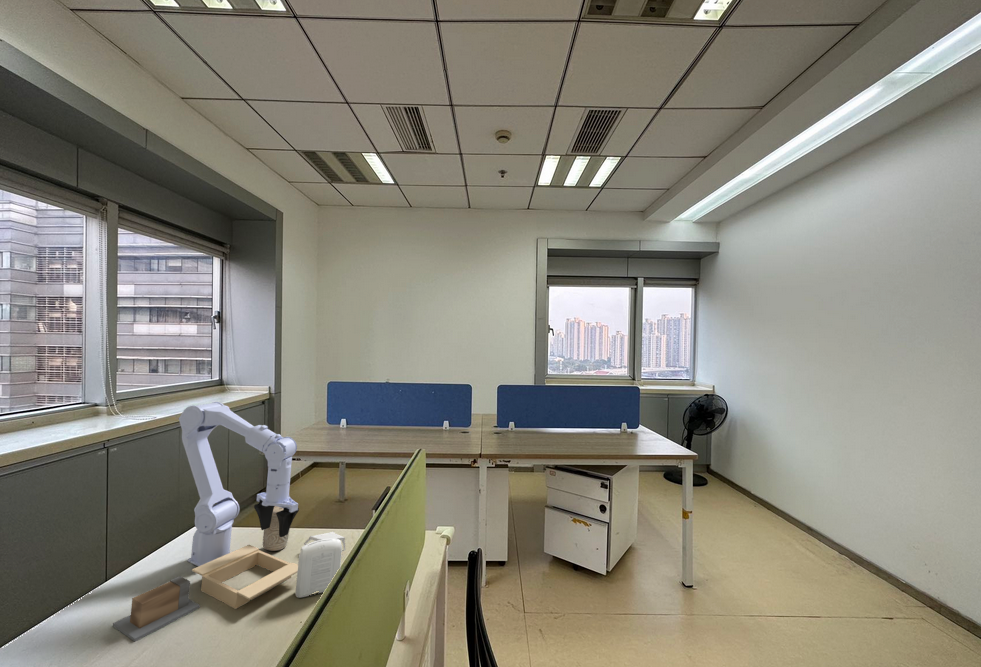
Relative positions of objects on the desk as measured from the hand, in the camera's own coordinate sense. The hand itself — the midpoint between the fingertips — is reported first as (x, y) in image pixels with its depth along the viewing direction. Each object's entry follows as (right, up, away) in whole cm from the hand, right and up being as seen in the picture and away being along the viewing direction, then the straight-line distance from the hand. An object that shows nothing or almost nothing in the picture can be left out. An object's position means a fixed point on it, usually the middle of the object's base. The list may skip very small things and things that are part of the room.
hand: (274, 532), depth 108 cm
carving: (-5, -10, +9) cm, 14 cm away
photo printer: (+16, -10, -9) cm, 21 cm away
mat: (-14, -8, -22) cm, 27 cm away
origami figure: (+10, -11, +9) cm, 17 cm away
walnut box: (-14, -7, -22) cm, 27 cm away
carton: (-2, -9, -9) cm, 12 cm away
